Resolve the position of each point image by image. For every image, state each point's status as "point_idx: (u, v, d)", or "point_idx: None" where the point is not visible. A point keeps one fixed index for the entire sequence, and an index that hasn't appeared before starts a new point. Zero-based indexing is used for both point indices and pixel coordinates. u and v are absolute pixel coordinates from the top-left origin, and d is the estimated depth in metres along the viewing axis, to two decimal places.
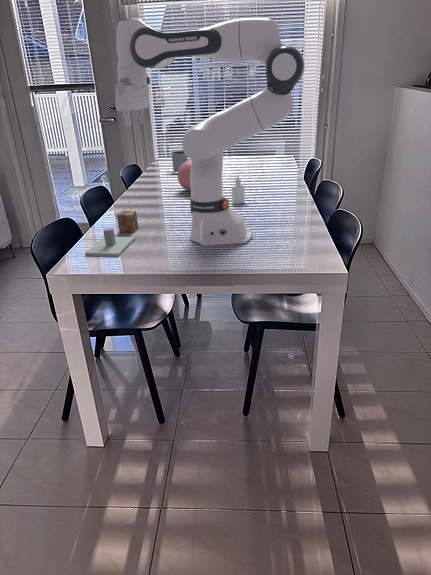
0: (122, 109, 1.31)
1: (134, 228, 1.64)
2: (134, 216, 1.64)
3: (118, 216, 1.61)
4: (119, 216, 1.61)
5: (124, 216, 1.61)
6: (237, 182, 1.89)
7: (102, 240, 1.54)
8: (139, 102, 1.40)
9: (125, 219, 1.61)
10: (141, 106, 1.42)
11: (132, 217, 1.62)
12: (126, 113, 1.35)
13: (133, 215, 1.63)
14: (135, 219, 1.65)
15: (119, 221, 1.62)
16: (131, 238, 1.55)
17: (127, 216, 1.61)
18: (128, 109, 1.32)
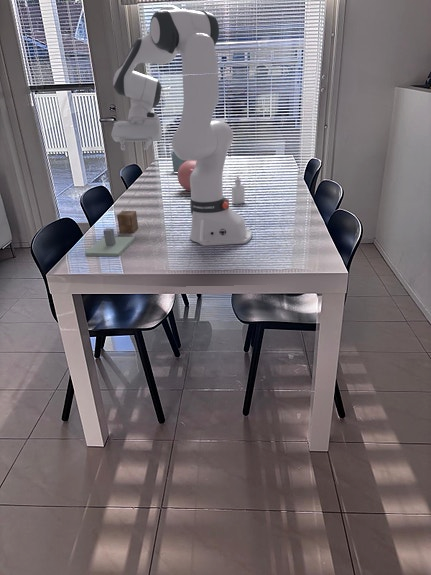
0: (112, 137, 1.72)
1: (134, 228, 1.64)
2: (134, 216, 1.64)
3: (118, 216, 1.61)
4: (119, 216, 1.61)
5: (124, 216, 1.61)
6: (237, 182, 1.89)
7: (102, 240, 1.54)
8: (138, 131, 1.69)
9: (125, 219, 1.61)
10: (141, 134, 1.69)
11: (132, 217, 1.62)
12: None
13: (133, 215, 1.63)
14: (135, 219, 1.65)
15: (119, 221, 1.62)
16: (131, 238, 1.55)
17: (127, 216, 1.61)
18: (114, 135, 1.70)
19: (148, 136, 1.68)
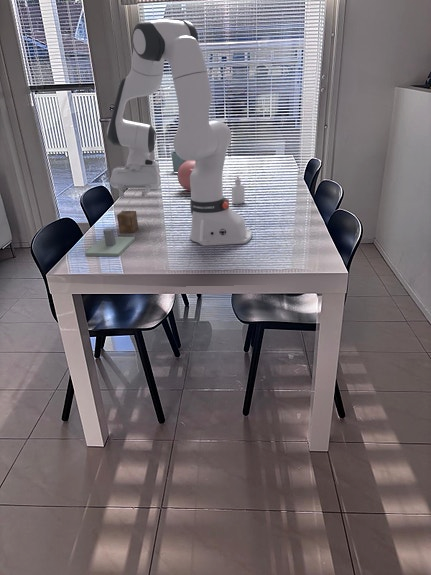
0: None
1: (134, 228, 1.64)
2: (134, 216, 1.64)
3: (118, 216, 1.61)
4: (119, 216, 1.61)
5: (124, 216, 1.61)
6: (237, 182, 1.89)
7: (102, 240, 1.54)
8: (136, 178, 1.69)
9: (125, 219, 1.61)
10: (139, 181, 1.68)
11: (132, 217, 1.62)
12: None
13: (133, 215, 1.63)
14: (135, 219, 1.65)
15: (119, 221, 1.62)
16: (131, 238, 1.55)
17: (127, 216, 1.61)
18: (113, 182, 1.70)
19: (146, 184, 1.68)
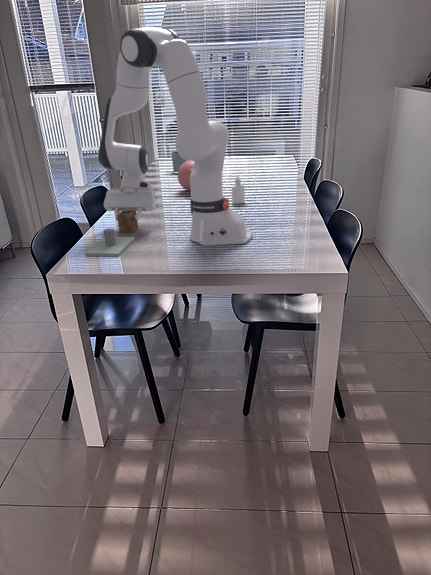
0: None
1: (134, 228, 1.64)
2: None
3: (118, 216, 1.61)
4: (119, 216, 1.61)
5: (124, 216, 1.61)
6: (237, 182, 1.89)
7: (102, 240, 1.54)
8: (131, 201, 1.64)
9: (125, 219, 1.61)
10: (134, 204, 1.63)
11: (132, 217, 1.62)
12: None
13: (133, 215, 1.63)
14: None
15: (119, 221, 1.62)
16: (131, 238, 1.55)
17: (127, 216, 1.61)
18: (107, 205, 1.65)
19: (141, 207, 1.63)
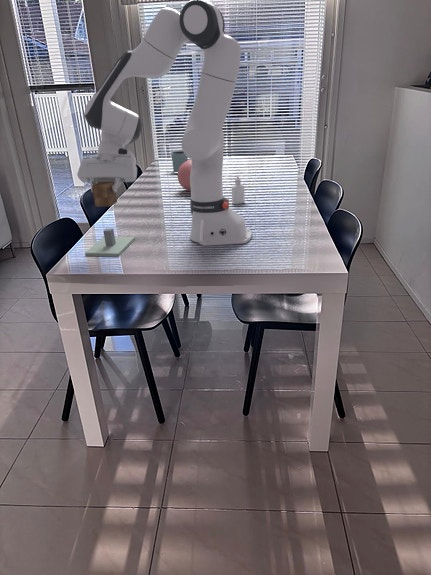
0: None
1: (111, 201, 1.43)
2: None
3: (93, 187, 1.41)
4: (94, 187, 1.41)
5: (100, 187, 1.40)
6: (237, 182, 1.89)
7: (102, 240, 1.54)
8: (108, 170, 1.43)
9: (101, 190, 1.41)
10: (112, 174, 1.43)
11: (109, 188, 1.41)
12: None
13: (110, 186, 1.42)
14: None
15: (94, 193, 1.42)
16: (131, 238, 1.55)
17: (103, 187, 1.40)
18: (81, 175, 1.45)
19: (120, 177, 1.42)
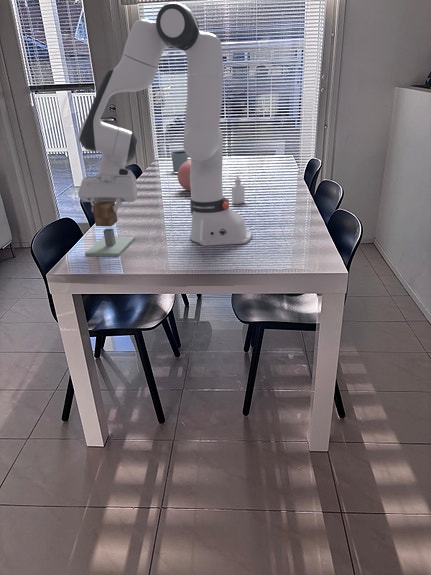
0: (79, 197, 1.47)
1: (112, 221, 1.44)
2: None
3: (94, 207, 1.42)
4: (95, 207, 1.42)
5: (100, 207, 1.41)
6: (237, 182, 1.89)
7: (102, 240, 1.54)
8: (109, 191, 1.44)
9: (101, 210, 1.42)
10: (112, 194, 1.44)
11: (110, 208, 1.42)
12: None
13: (111, 206, 1.43)
14: None
15: (95, 213, 1.43)
16: (131, 238, 1.55)
17: (104, 207, 1.41)
18: (82, 195, 1.46)
19: (120, 197, 1.43)
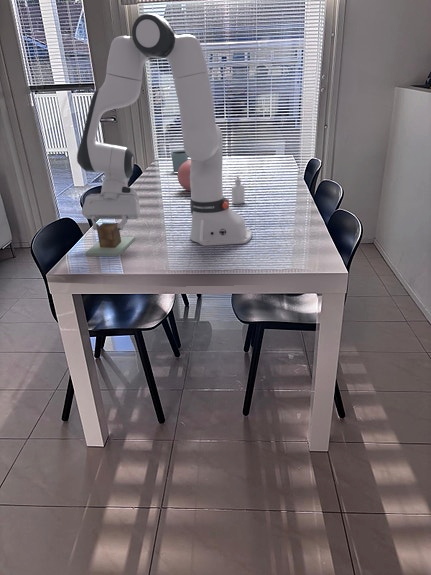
0: (83, 215, 1.50)
1: (116, 242, 1.48)
2: (116, 229, 1.48)
3: (98, 229, 1.45)
4: (99, 229, 1.45)
5: (105, 229, 1.45)
6: (237, 182, 1.89)
7: None
8: (112, 208, 1.47)
9: (106, 232, 1.45)
10: (115, 212, 1.46)
11: (114, 230, 1.46)
12: None
13: (115, 228, 1.47)
14: (117, 232, 1.49)
15: (99, 235, 1.46)
16: (131, 238, 1.55)
17: (108, 229, 1.45)
18: (85, 213, 1.48)
19: (123, 215, 1.46)
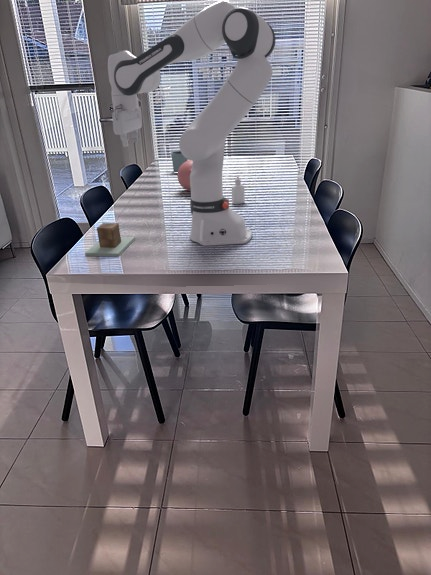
0: (119, 133, 1.46)
1: (116, 242, 1.48)
2: (116, 229, 1.48)
3: (98, 229, 1.45)
4: (99, 229, 1.45)
5: (105, 229, 1.45)
6: (237, 182, 1.89)
7: None
8: (133, 123, 1.55)
9: (106, 232, 1.45)
10: (136, 127, 1.57)
11: (114, 230, 1.46)
12: (123, 135, 1.50)
13: (115, 228, 1.47)
14: (117, 232, 1.49)
15: (99, 235, 1.46)
16: (131, 238, 1.55)
17: (108, 229, 1.45)
18: (125, 132, 1.47)
19: (137, 129, 1.60)
